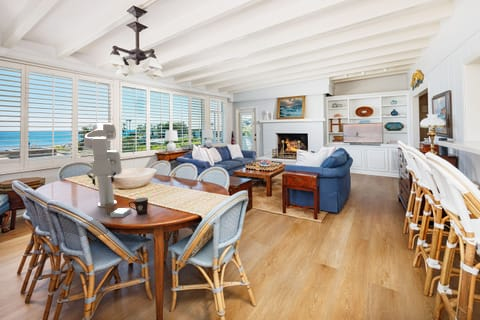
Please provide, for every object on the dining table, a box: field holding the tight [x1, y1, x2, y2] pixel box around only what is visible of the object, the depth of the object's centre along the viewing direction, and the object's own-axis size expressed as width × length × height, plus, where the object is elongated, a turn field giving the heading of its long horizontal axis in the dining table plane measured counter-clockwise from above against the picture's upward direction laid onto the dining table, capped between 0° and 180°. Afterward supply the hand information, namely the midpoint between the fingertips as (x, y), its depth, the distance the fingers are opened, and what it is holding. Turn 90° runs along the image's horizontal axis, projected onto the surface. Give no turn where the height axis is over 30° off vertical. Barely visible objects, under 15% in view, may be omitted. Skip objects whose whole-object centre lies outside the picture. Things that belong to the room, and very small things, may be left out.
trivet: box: [109, 207, 132, 218], centre depth 153 cm, size 9×9×3 cm
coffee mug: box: [128, 197, 149, 216], centre depth 153 cm, size 12×9×10 cm
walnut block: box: [104, 203, 115, 215], centre depth 157 cm, size 5×5×6 cm
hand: (103, 183), depth 146 cm, fingers open, 9 cm apart
